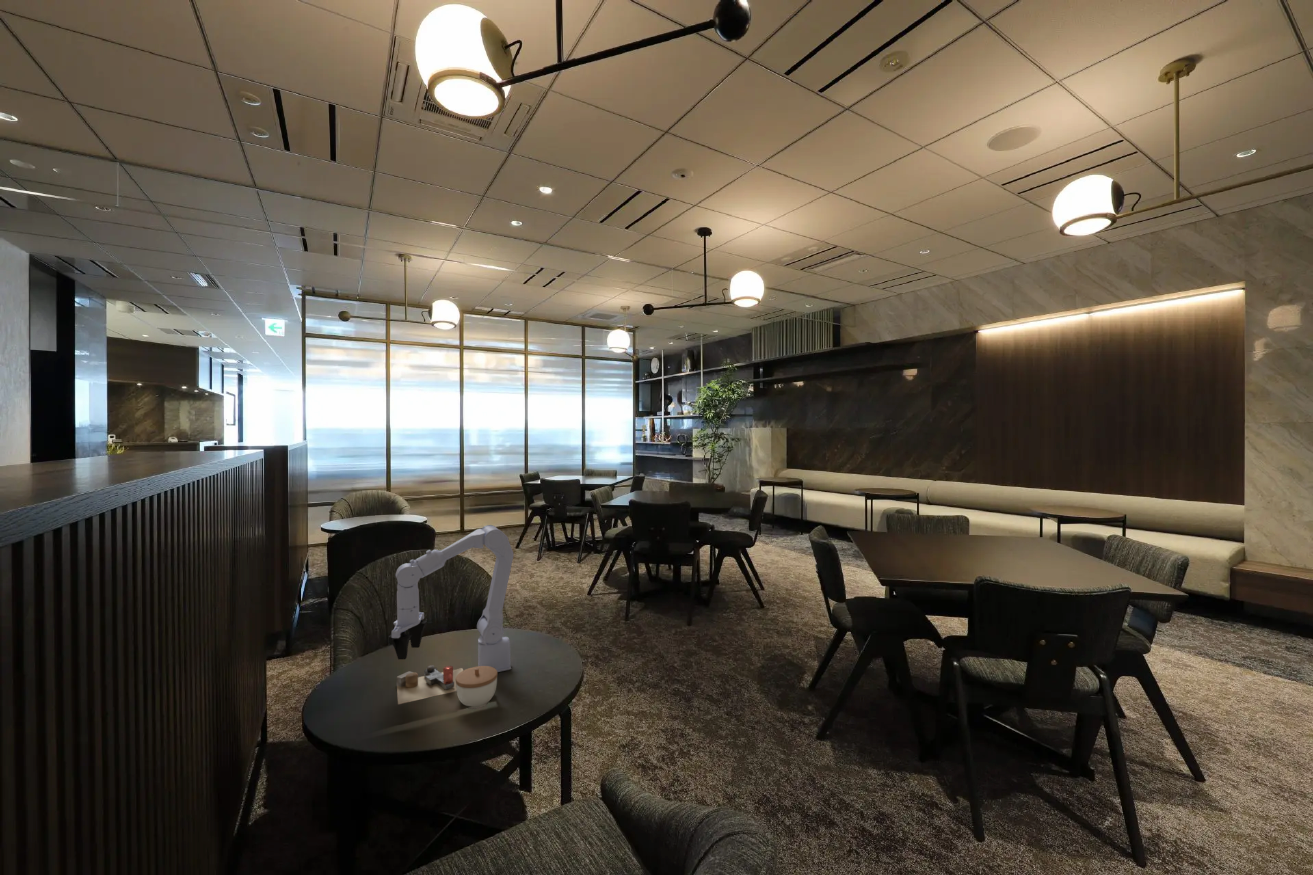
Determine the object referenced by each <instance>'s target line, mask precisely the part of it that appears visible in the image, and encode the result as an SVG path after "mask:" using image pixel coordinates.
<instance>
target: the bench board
mask: <svg viewBox="0 0 1313 875" xmlns="http://www.w3.org/2000/svg"><path fill="white" fill-rule="evenodd" d="M434 667H435V665H434V664H431V665H428V666H427V667H426V669H427V670H428V671H431V670H434ZM462 671H464V669H463V667H460V668H457V669H456V668H455V669H453V681H454V687H452V688H450V689H447V690H445V689H444V688H442V687H441V686H439V685H438V684H437V683H435V684H432V685H429V684H428V683H427V682H426V678H425V677H424V675H423V676H418V685H417V686H416V687H414V688H406V675H407V674H409V673H413V671H406V672H404V673H402V674H400V675H398V676H396V690H397V693H396V694H397V706H398V705H402V704H407V703H412V702H416V701H419V700H423V699H428V698H433V697H437V696H441V695H442V696H443V695H446V694H451V693H454V692H457V690H456V676H457V675H458V674H459V673H460V672H462ZM440 673H442V674H443V671H442V672H440Z"/></svg>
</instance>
